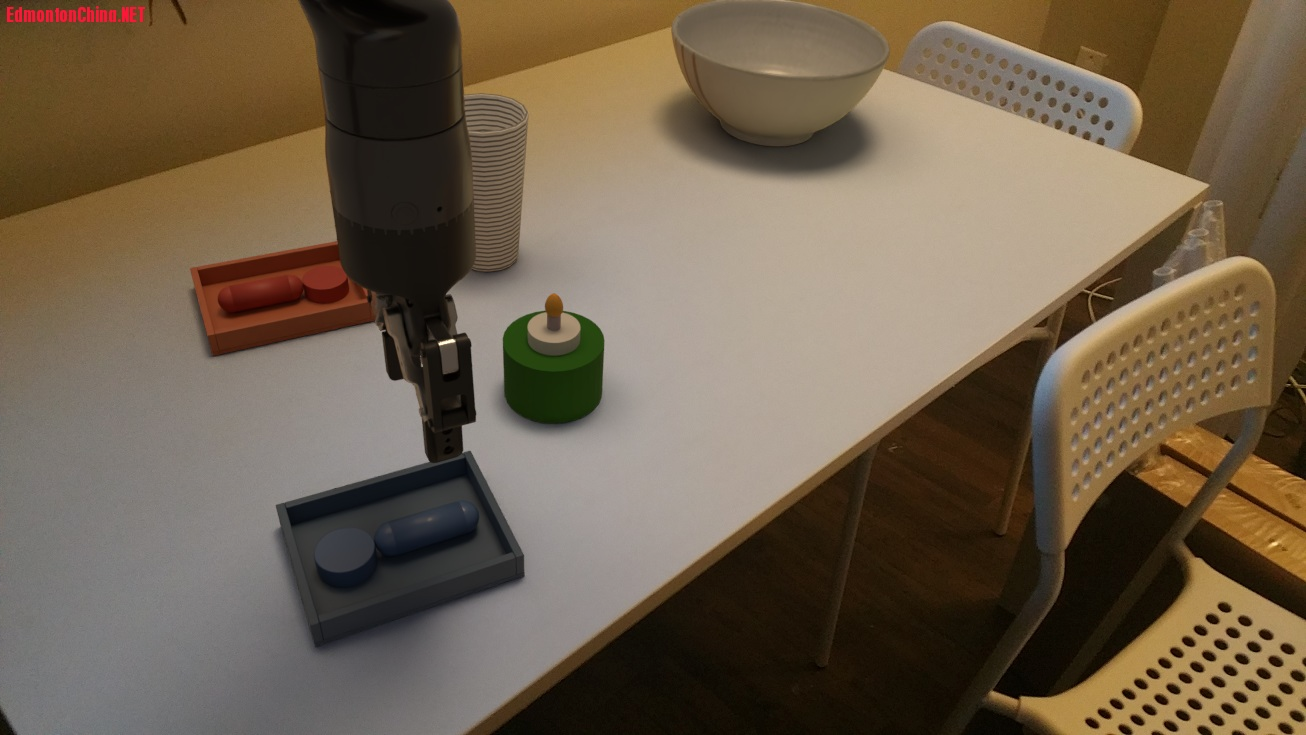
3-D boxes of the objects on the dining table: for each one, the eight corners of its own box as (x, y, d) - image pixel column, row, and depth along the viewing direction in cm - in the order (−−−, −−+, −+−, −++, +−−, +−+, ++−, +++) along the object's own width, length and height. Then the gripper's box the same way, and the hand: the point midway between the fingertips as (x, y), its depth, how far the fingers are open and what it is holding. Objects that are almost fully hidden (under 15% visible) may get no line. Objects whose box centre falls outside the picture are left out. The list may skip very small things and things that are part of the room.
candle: (541, 349, 88) (541, 254, 82) (620, 383, 85) (626, 287, 79) (484, 398, 82) (479, 300, 76) (566, 437, 79) (568, 338, 73)
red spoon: (224, 325, 87) (218, 302, 86) (217, 300, 90) (211, 279, 88) (353, 298, 92) (350, 276, 90) (343, 276, 94) (340, 254, 93)
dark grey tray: (315, 647, 63) (309, 625, 61) (280, 525, 70) (275, 504, 69) (524, 575, 68) (524, 554, 67) (471, 470, 76) (470, 449, 74)
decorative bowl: (624, 131, 124) (629, 36, 116) (725, 68, 142) (735, -17, 135) (818, 196, 114) (837, 97, 106) (900, 120, 132) (921, 31, 125)
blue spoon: (470, 505, 72) (468, 482, 71) (488, 543, 70) (487, 520, 68) (311, 552, 68) (306, 529, 67) (324, 595, 65) (318, 572, 64)
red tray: (212, 356, 84) (207, 335, 83) (195, 287, 92) (189, 267, 91) (378, 320, 90) (375, 300, 89) (348, 258, 98) (345, 239, 96)
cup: (545, 267, 99) (544, 122, 89) (465, 288, 95) (455, 139, 85) (509, 227, 104) (505, 87, 94) (432, 245, 100) (420, 101, 91)
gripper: (516, 241, 50) (519, 470, 60) (430, 125, 60) (445, 338, 70) (368, 270, 47) (397, 505, 57) (302, 142, 56) (337, 363, 67)
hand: (423, 413), depth 63 cm, fingers open, 8 cm apart
